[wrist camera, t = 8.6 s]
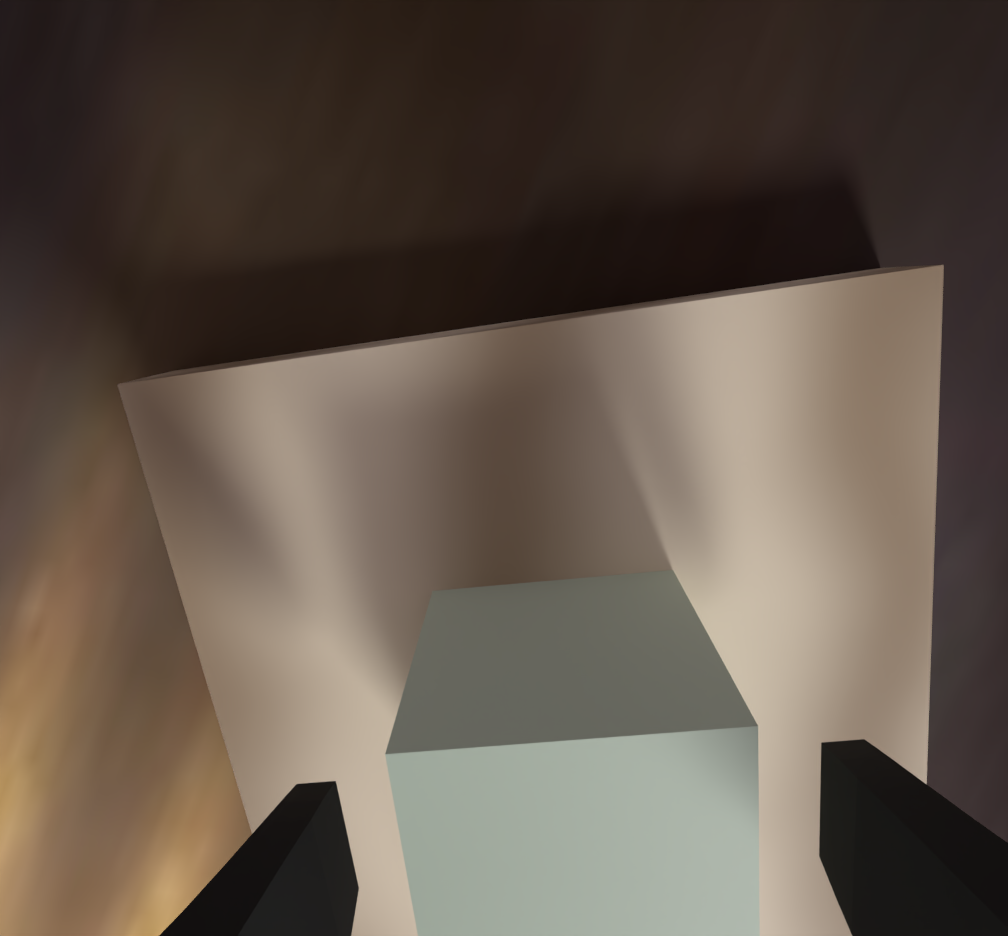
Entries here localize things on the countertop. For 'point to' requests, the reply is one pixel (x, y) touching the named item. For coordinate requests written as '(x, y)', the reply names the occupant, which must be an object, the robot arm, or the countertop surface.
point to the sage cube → (575, 765)
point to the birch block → (567, 529)
